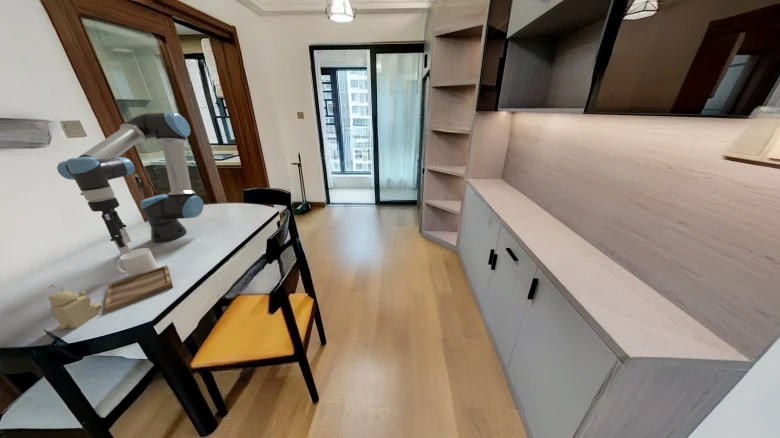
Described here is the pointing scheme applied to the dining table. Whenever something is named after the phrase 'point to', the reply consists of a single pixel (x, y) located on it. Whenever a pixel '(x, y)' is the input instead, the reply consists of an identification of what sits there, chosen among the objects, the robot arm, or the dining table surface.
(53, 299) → the robot
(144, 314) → the dining table surface
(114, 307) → the tray
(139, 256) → the mug
